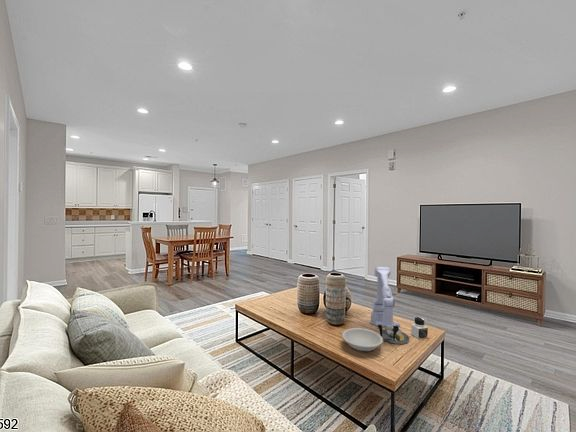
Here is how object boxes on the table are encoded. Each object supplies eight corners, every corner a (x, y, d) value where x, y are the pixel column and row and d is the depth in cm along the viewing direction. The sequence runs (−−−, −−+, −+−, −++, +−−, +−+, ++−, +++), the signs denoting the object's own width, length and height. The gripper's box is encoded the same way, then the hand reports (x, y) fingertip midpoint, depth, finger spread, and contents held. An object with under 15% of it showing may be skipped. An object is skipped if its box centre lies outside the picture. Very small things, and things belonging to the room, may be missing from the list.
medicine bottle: (418, 339, 179) (419, 321, 178) (410, 334, 186) (411, 316, 185) (427, 338, 181) (428, 320, 180) (419, 333, 188) (420, 315, 187)
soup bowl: (352, 334, 185) (352, 324, 185) (388, 346, 170) (388, 335, 170) (334, 348, 167) (334, 337, 166) (373, 363, 151) (373, 351, 151)
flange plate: (373, 335, 183) (374, 333, 183) (390, 329, 193) (390, 326, 193) (398, 347, 168) (398, 344, 168) (414, 339, 178) (414, 337, 178)
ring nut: (398, 342, 171) (398, 337, 171) (380, 331, 186) (380, 326, 186) (409, 339, 175) (409, 334, 175) (390, 328, 190) (390, 324, 190)
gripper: (377, 317, 171) (376, 339, 172) (401, 319, 169) (401, 341, 170) (375, 313, 178) (374, 334, 179) (399, 315, 176) (398, 336, 177)
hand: (387, 337), depth 175 cm, fingers open, 7 cm apart
